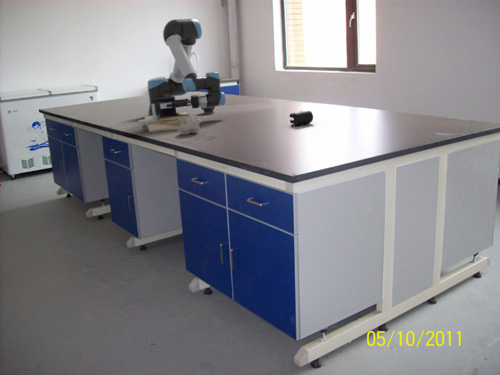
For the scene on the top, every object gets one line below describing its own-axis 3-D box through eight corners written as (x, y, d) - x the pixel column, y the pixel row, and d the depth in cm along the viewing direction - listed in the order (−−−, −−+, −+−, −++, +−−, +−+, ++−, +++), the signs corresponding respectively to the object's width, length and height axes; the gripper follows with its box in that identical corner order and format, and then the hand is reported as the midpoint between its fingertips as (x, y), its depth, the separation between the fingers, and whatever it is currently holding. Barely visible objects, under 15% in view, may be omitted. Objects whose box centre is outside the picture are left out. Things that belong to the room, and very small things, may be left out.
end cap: (298, 127, 253) (298, 113, 251) (289, 126, 259) (288, 112, 257) (313, 124, 259) (313, 110, 257) (304, 123, 264) (303, 109, 262)
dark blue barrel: (157, 125, 289) (154, 98, 285) (166, 122, 298) (163, 96, 294) (172, 125, 286) (169, 98, 281) (181, 122, 294) (178, 96, 290)
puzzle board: (145, 124, 296) (144, 115, 294) (186, 119, 301) (185, 110, 300) (149, 132, 268) (148, 122, 266) (194, 127, 274) (193, 117, 272)
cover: (138, 121, 276) (136, 105, 273) (155, 119, 278) (153, 103, 275) (139, 123, 267) (137, 107, 265) (156, 121, 270) (154, 105, 267)
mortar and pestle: (205, 114, 317) (203, 95, 314) (198, 113, 325) (196, 94, 321) (221, 112, 323) (219, 93, 320) (213, 110, 330) (211, 92, 327)
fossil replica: (174, 135, 255) (190, 138, 250) (172, 119, 252) (188, 122, 247) (189, 129, 264) (204, 131, 259) (187, 113, 261) (203, 115, 256)
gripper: (202, 110, 283) (162, 114, 278) (195, 105, 304) (158, 109, 299) (201, 96, 281) (160, 100, 276) (194, 93, 302) (156, 96, 297)
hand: (159, 105), depth 288 cm, fingers closed on dark blue barrel, 10 cm apart
